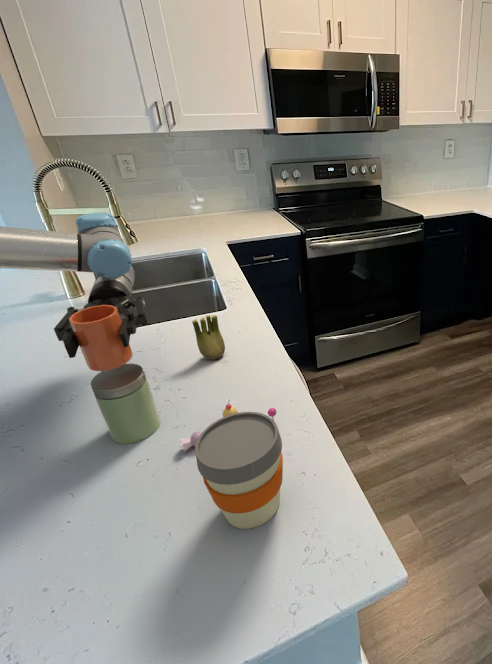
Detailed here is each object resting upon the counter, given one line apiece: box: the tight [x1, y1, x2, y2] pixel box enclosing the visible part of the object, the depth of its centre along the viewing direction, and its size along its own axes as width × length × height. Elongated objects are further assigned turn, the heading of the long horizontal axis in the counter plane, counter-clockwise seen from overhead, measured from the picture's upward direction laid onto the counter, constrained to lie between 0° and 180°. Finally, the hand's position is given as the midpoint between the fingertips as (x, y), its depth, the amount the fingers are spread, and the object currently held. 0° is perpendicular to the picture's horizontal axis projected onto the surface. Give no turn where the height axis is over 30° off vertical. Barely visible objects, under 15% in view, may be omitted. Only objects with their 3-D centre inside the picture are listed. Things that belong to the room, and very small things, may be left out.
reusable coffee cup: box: [194, 411, 284, 530], centre depth 67 cm, size 13×13×15 cm
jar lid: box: [90, 363, 147, 399], centre depth 81 cm, size 9×9×2 cm
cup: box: [69, 305, 134, 372], centre depth 78 cm, size 7×7×10 cm
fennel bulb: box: [191, 314, 226, 361], centre depth 108 cm, size 6×5×12 cm
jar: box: [93, 375, 161, 445], centre depth 84 cm, size 9×9×12 cm
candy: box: [180, 398, 277, 452], centre depth 84 cm, size 18×8×6 cm, turn 123°
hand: (97, 345), depth 73 cm, fingers closed on cup, 8 cm apart
